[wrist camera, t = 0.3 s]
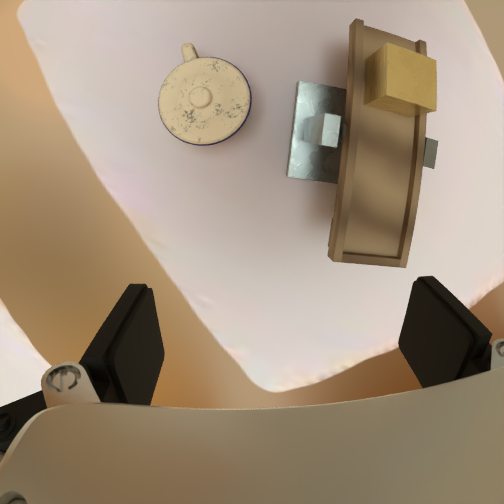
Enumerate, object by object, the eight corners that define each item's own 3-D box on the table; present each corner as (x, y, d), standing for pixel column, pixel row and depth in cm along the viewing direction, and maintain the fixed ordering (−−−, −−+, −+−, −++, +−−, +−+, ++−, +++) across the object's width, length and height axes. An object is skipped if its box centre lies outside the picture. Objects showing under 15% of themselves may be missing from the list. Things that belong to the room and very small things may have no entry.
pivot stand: (297, 82, 34) (316, 64, 24) (405, 107, 35) (451, 104, 25) (286, 175, 38) (301, 190, 28) (392, 191, 39) (434, 212, 29)
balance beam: (342, 32, 26) (353, 17, 22) (410, 52, 26) (427, 42, 23) (320, 250, 32) (331, 261, 28) (391, 257, 33) (407, 268, 29)
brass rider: (366, 58, 24) (387, 42, 19) (410, 72, 25) (436, 60, 20) (364, 105, 26) (386, 94, 21) (409, 117, 26) (436, 110, 21)
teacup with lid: (260, 129, 36) (266, 127, 26) (190, 153, 37) (167, 161, 26) (229, 43, 32) (223, 10, 21) (160, 68, 33) (128, 47, 22)
